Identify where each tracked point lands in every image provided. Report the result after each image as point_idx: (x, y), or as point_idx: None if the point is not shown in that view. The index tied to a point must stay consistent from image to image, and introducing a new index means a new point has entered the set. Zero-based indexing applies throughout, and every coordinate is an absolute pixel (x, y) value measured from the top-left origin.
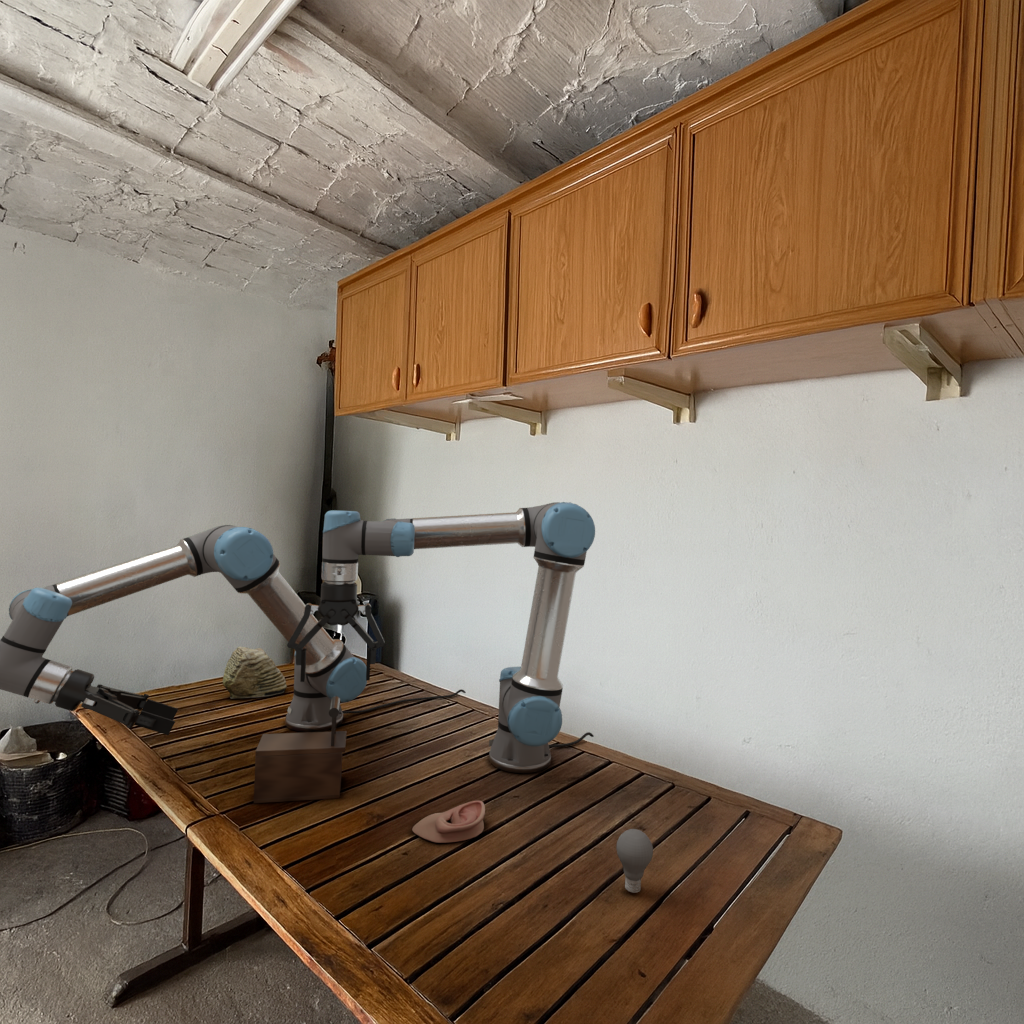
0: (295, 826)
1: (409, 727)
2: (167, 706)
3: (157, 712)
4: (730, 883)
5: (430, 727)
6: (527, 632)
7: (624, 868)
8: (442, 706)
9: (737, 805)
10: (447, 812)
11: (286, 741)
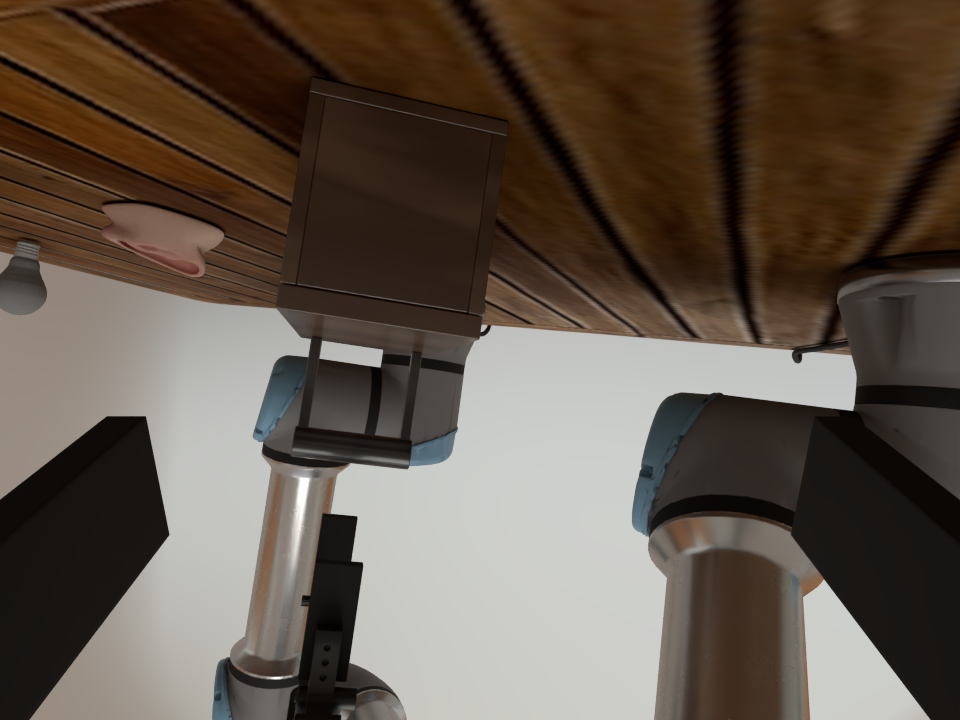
0: (131, 109)
1: (692, 306)
2: (848, 607)
3: (919, 571)
4: (79, 263)
5: (661, 311)
6: (294, 545)
7: (13, 268)
8: (761, 337)
9: (258, 303)
10: (171, 250)
11: (372, 333)
